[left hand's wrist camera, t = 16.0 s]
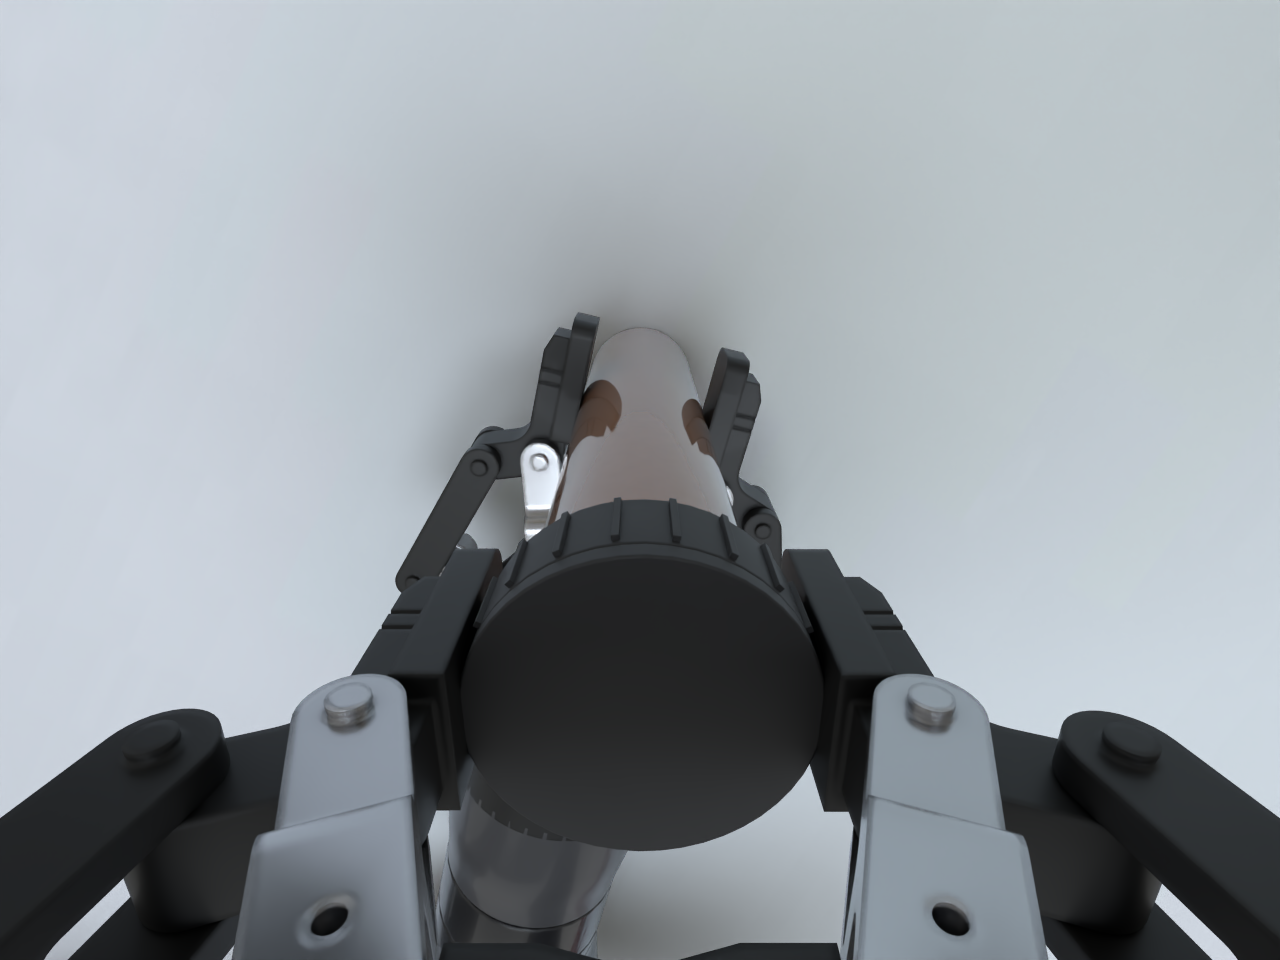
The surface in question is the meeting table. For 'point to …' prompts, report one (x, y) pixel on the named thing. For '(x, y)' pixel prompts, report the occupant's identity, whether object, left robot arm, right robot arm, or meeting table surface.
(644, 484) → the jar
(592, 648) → the lid
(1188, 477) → the meeting table surface
